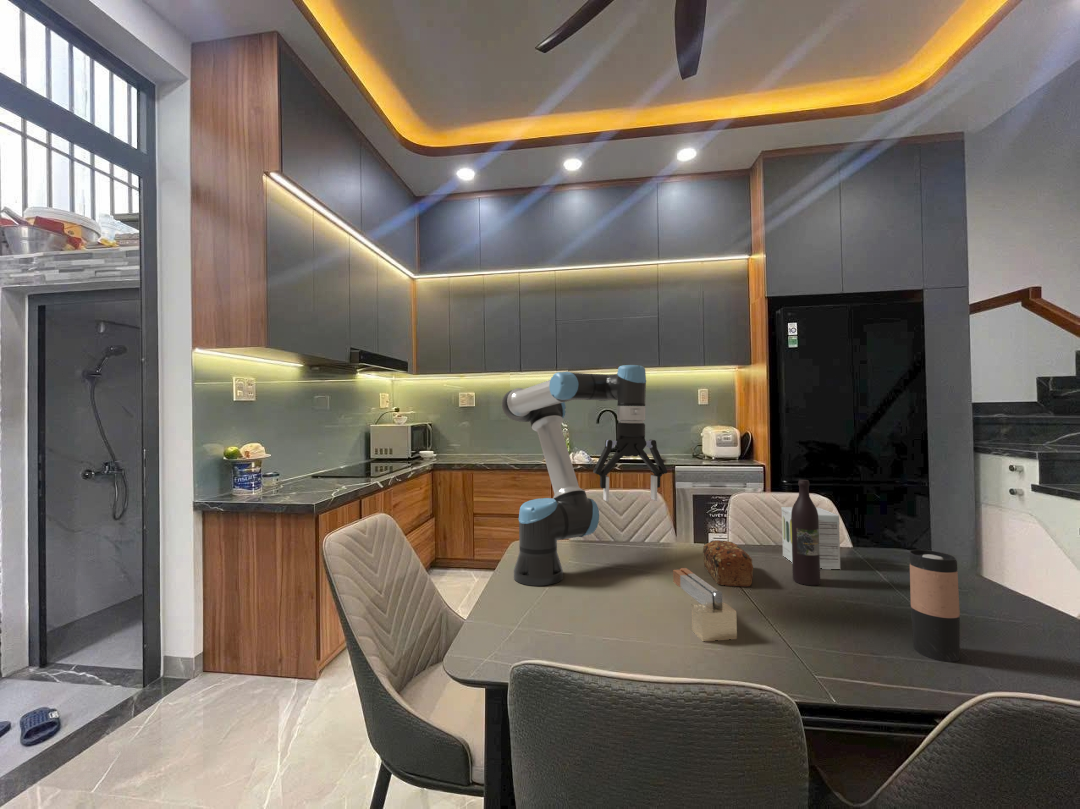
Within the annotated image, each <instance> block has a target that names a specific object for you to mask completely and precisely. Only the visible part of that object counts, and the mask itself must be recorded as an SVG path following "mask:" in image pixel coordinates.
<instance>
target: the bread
mask: <svg viewBox="0 0 1080 809" xmlns="http://www.w3.org/2000/svg"><path fill="white" fill-rule="evenodd" d="M702 554H703V556H702V558H703V564H704V565H703V566H704V568H705V567H706V568H705V569H706V571H707V570H708V571H707V572H708V573H710V574H711V575H710V574H709V575H710V577H712V579H713V580H714V582H715V583H716V582H717V583H716V584H718V585H720V586H724V585H725V586H727V587H745V588H747V587H751V585H752V583H753V579H754V576H753V574H754V565H753V559H752V557H751V556H750V554H748V552H746V551H745V550H744V549H742V548H741V547H740V546H739V545H737V544H736V543H734V542H733V541H727V540H718V539H717V540H710V541H709V542H707V543H705V544H704V545H703V547H702Z"/></svg>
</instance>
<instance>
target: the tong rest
mask: <svg viewBox="0 0 1080 809" xmlns="http://www.w3.org/2000/svg"><path fill="white" fill-rule="evenodd" d="M672 577H673V578H672V579H673V581H672V582H673V584H675V585H677V586H678V588H680V589H682V590H683V591H684V592H685V593H687V594H688V595H689V596H690V597H692V599H694V600H695V601H697V602H698V603H693V604H691V606H690V607H691V632H692V631H693V632H694V633H695V634H694V633H693V632H692V633H693V634H694V635H695V636H696V635H697V636H696V637H697V638H698V639H699V640H700V639H701V640H702V641H705V642H713V641H714V642H716V641H715V640H718V641H728V640H729V639H731V640H737V639H738V631H737V630H738V625H737V622H738V621H737V620H738V619H737V610H735V609H734V608H733V607H731V606H730V605H729V604H728V603H725V602H723V601H722V608H720V609H719V608H714V607H713V599H712V594H711V593H710V592H709V591H707V590H706V589H704V588H703V587H702V586H700V585H699V584H698V583H696V582H695V581H694V580H692V579H691V578H690V577H688V576H687V575H686V574H685V573H683V572H682V571H681V570H680V569H673V570H672ZM701 640H700V641H701ZM702 641H701V642H702Z"/></svg>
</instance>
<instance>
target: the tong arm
mask: <svg viewBox="0 0 1080 809" xmlns="http://www.w3.org/2000/svg"><path fill="white" fill-rule="evenodd" d="M679 570H681V571H682V572H683V573H685V574H686V575H687V576H688V577H690V578H691V579H692V580H694V581H695V582H696V583H698V584H699V585H700V586H702V587H703V588H704V589H706V590H707V591H709V592H710V593H711V594H712V599H713V607H714V608H719V609H720V608H722V602H723V591H721V590H718V589H717V588H715V587H714V586H712V585H711V584H709V583H708V582H706V581H705V580H704V579H702V578H701V577H699V576H698V575H696V574H695V573H694V572H692V571H691V570H690V569H689V568H687V567H681V568H679Z"/></svg>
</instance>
